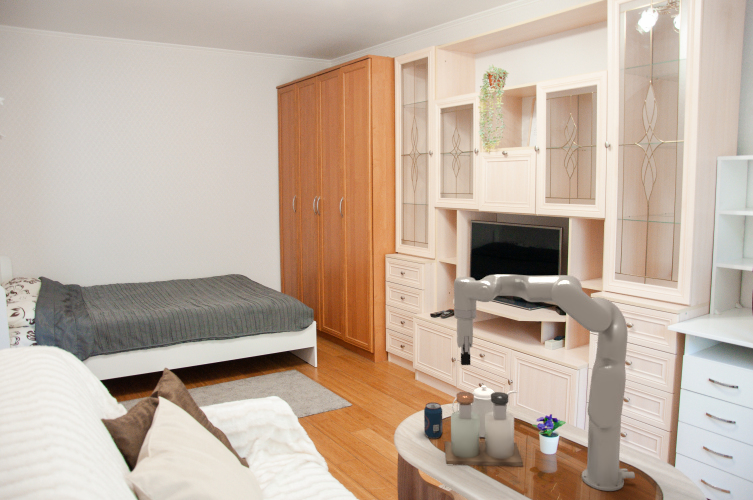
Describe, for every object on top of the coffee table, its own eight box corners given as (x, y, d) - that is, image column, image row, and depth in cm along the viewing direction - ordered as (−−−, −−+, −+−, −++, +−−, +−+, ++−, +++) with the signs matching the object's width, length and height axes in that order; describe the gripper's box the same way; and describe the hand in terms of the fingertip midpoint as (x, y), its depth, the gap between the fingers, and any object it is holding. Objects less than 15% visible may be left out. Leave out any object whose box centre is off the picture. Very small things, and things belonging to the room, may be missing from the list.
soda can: (422, 431, 218) (421, 402, 216) (439, 430, 219) (439, 400, 217) (427, 440, 211) (427, 410, 209) (444, 438, 212) (444, 408, 210)
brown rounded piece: (472, 412, 200) (472, 391, 199) (474, 419, 194) (474, 398, 193) (456, 412, 200) (456, 391, 199) (457, 419, 194) (457, 398, 193)
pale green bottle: (477, 444, 203) (478, 397, 201) (480, 458, 194) (480, 409, 191) (450, 444, 204) (450, 397, 202) (451, 457, 194) (451, 408, 192)
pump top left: (506, 412, 199) (507, 392, 198) (509, 420, 193) (509, 399, 192) (489, 412, 199) (490, 392, 198) (491, 419, 193) (492, 398, 192)
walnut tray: (516, 446, 204) (516, 442, 204) (522, 466, 191) (522, 462, 190) (444, 445, 207) (444, 441, 206) (446, 464, 193) (446, 460, 193)
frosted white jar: (511, 445, 202) (511, 397, 200) (515, 459, 192) (516, 409, 190) (483, 444, 203) (483, 397, 201) (486, 458, 193) (486, 409, 191)
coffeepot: (520, 439, 209) (520, 391, 207) (453, 438, 212) (452, 390, 209) (515, 426, 220) (516, 381, 218) (452, 425, 223) (451, 380, 220)
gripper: (453, 308, 200) (453, 357, 202) (455, 318, 185) (456, 371, 187) (474, 307, 199) (474, 357, 201) (478, 318, 184) (478, 371, 187)
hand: (465, 364), depth 194 cm, fingers closed
